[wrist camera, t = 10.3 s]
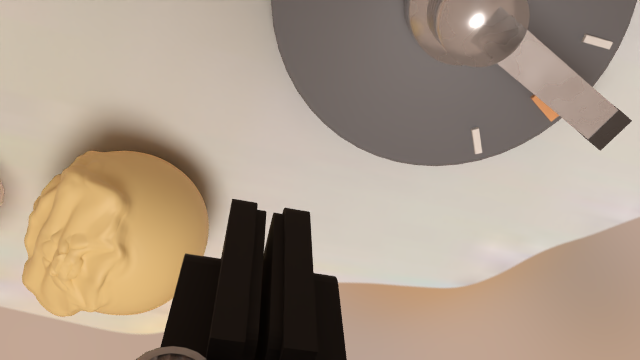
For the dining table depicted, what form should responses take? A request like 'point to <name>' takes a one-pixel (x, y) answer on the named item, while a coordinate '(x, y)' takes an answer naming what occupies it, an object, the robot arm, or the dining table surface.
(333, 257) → the dining table surface
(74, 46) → the dining table surface
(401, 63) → the dial plate
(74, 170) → the sculpture
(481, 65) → the dial
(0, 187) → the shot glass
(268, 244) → the robot arm
